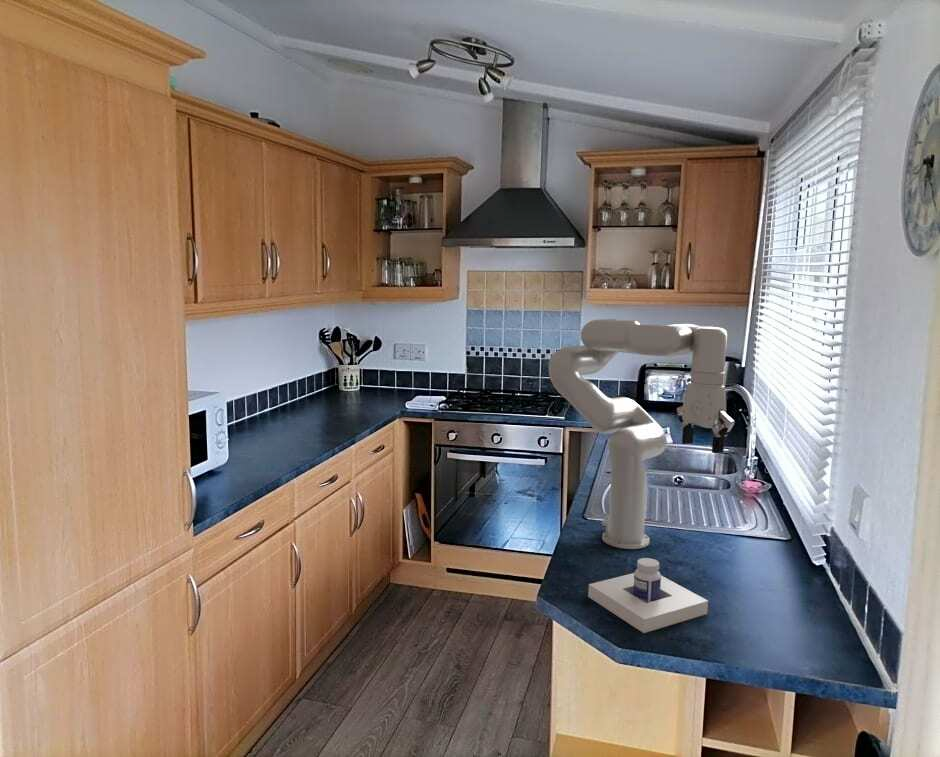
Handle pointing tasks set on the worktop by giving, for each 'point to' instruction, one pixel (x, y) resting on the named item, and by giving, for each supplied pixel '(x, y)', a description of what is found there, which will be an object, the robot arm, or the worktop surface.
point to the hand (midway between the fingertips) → (702, 447)
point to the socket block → (651, 615)
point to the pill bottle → (647, 580)
